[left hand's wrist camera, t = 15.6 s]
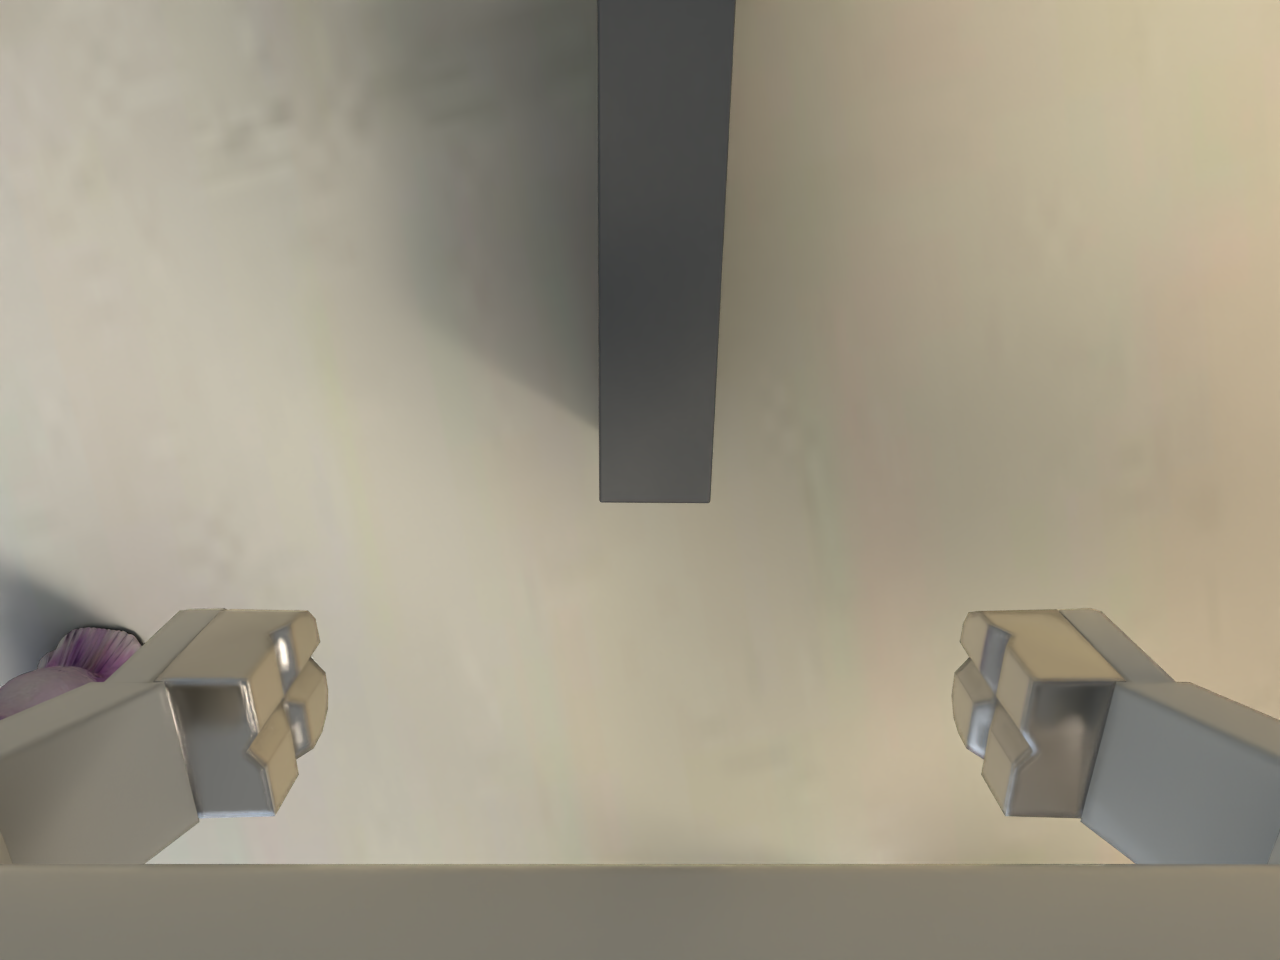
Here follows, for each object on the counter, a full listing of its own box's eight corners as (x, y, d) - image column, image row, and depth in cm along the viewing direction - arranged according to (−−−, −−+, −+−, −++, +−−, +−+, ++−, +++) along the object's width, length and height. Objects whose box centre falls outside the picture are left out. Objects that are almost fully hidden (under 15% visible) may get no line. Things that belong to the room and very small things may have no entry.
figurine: (84, 583, 42) (-188, 792, 28) (230, 712, 45) (51, 958, 31) (-31, 674, 44) (-339, 912, 30) (117, 792, 47) (-100, 1058, 33)
